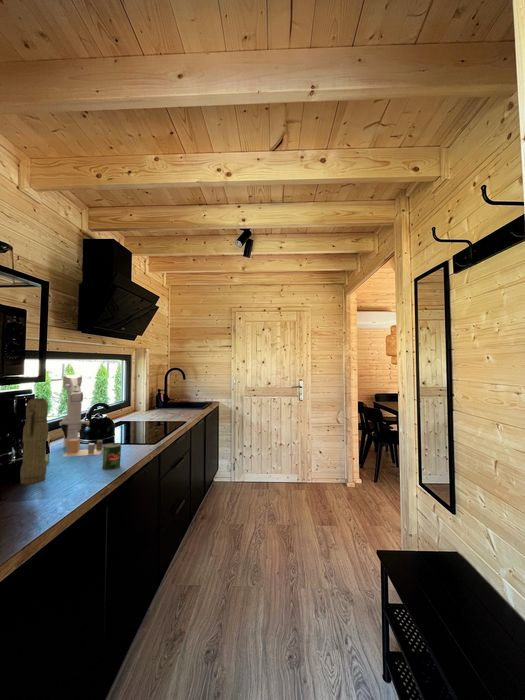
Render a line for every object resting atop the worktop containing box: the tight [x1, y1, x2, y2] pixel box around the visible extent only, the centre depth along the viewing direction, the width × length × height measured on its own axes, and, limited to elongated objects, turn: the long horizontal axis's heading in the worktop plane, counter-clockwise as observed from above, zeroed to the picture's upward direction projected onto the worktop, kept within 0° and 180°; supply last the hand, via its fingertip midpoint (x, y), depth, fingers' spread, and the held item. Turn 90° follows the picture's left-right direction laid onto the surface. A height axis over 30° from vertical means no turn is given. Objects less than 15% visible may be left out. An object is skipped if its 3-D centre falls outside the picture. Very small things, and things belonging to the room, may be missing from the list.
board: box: [62, 448, 103, 458], centre depth 174 cm, size 12×18×1 cm, turn 108°
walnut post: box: [95, 439, 104, 451], centre depth 181 cm, size 3×3×5 cm
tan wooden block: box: [66, 437, 81, 453], centre depth 175 cm, size 5×5×7 cm
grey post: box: [87, 442, 95, 454], centre depth 174 cm, size 3×3×5 cm
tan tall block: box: [19, 397, 49, 486], centre depth 134 cm, size 9×12×35 cm
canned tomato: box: [102, 442, 122, 471], centre depth 153 cm, size 8×8×11 cm
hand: (73, 437), depth 176 cm, fingers open, 7 cm apart
